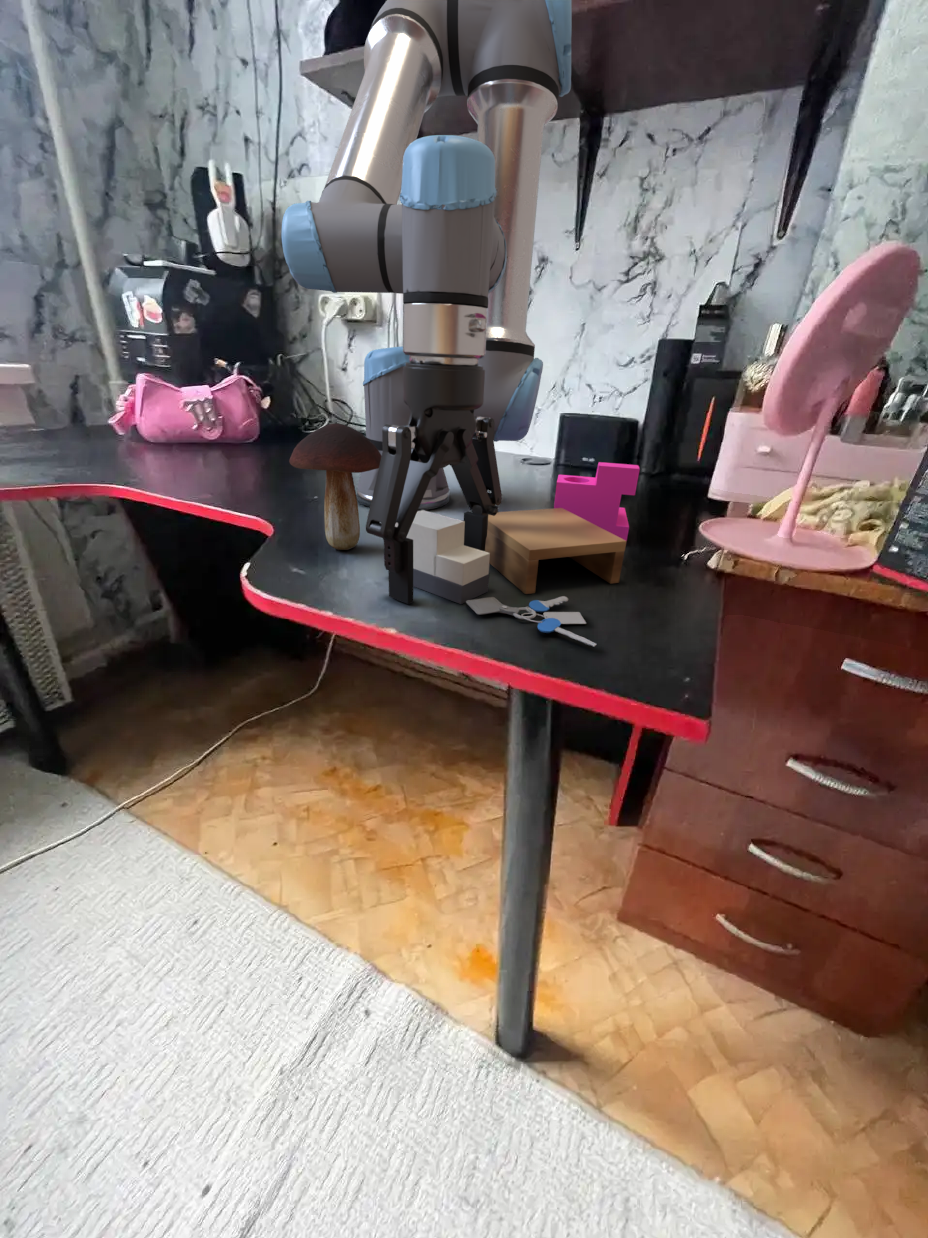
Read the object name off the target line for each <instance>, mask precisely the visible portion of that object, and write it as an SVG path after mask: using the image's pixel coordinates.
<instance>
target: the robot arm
mask: <svg viewBox="0 0 928 1238" xmlns="http://www.w3.org/2000/svg"><path fill="white" fill-rule="evenodd" d="M572 12H573V11H572V0H385V2H384V4H383V5H382V6H381V8H380V9H379V11H378V12H377V14H376V15H375V17H374V19H373V21H372V23H371V26H370V29H369V31H368V33H367V37H366V40H365V44H364V48H363V65H364V74H363V77H362V80H361V82H360V86H359V88H358V91H357V94H356V97H355V100H354V102H353V105H352V107H351V110H350V114H349V117H348V119H347V122H346V125H345V128H344V131H343V134H342V136H341V139H340V142H339V145H338V148H337V151H336V153H335V156H334V158H333V162H332V165H331V167H330V170H329V173H328V176H327V179H326V181H325V184H324V186H323V190H322V192H321V194H320V197H319V199H318V202H312V200H306V201H305V202H298V203H297V202H296V203H293V204H291V205H290V206H287V208H286V209H285V211H284V213H283V217H282V221H281V246H282V252H283V256H284V259H285V263H286V264H287V268H288V269H289V273H290V275H291V277H292V278H293V280H294V281H295V282H296V283H297V284H298V285H299V286H300V287H302V288H304V289H307V290H314V291H315V290H317V291H324V292H331V293H333V294H338V293H365V294H366V293H367V294H369V293H370V294H371V293H373V294H402V303H403V304H402V345H401V346H393V347H384V348H377V349H372V350H370V351H369V352H368V353H367V354H366V356H365V358H364V362H363V382H362V387H363V396H364V398H363V399H364V419H365V420H364V422H365V437H366V438H367V439H369V440H370V441H371V442H372V443H373V444H374V445H375V447H376V448H377V449H378V451H379V452H380V454H381V461H380V465H379V468H378V469H374V470H370V471H366V472H361V473H359V474H360V475H359V479H358V481H357V484H356V485H357V486H356V497H357V502H358V503H360V504H362V505H363V506H367V507H369V510H368V513H367V514H368V515H367V518H366V523H365V532H366V533H367V534H369V535H372V536H375V537H379V538H382V539H383V559H384V560H383V561H384V568H385V570H386V571H387V572H388V597H390V598H392V599H394V600H397V601H400V602H402V603H404V604H407V605H409V604H412V603H414V586H413V540H412V539H409V538H406V537H407V535H408V533H409V530H410V528H411V525H412V523H413V521H414V518H415V516H416V513H417V512H418V511H422V510H424V511H429V510H433V509H437V508H441V507H443V506H445V505H447V504H448V503H449V501H450V488H449V487H450V486H449V483H448V480H447V477H446V473H445V470H444V469H445V468H446V467H448V466H450V467H451V468H452V471H453V474H454V476H455V478H456V480H457V483H458V485H459V488H460V490H461V492H462V495H463V497H464V499H465V502H466V504H467V506H468V509H469V510H470V511H464V512H463V521H465V529H464V545H465V546H468V547H471V548H475V549H478V550H481V551H485V543H486V538H487V529H488V514H489V515H493V516H495V515H496V514H497V512H499V507H498V506H500V505H501V504H502V502H503V495H502V489H501V481H500V475H499V468H498V461H497V454H496V448H495V442H496V443H497V442H518V441H521V440H523V439H524V438H525V437H526V436H527V435H528V433H529V430H530V427H531V425H532V422H533V416H534V412H535V408H536V405H537V401H538V395H539V390H540V385H541V379H542V374H543V369H544V361H543V360H542V359H540V358H539V357H535V350H536V344H535V343H534V342H533V340H532V339H531V338H530V336H529V335H528V333H527V323H528V311H529V300H530V287H531V277H532V266H533V254H534V253H533V252H534V243H535V232H536V231H535V229H536V219H537V210H538V209H537V208H538V197H539V184H540V173H541V162H542V151H543V150H542V149H543V138H544V129H545V127H546V126H547V125H548V124H549V123H550V122H551V121H552V120H553V118H554V117H555V116H556V114H557V112H558V106H559V97H561V98H562V97H564V96H565V95H568V94H569V93H570V91H571V88H572V29H573V27H572V25H573V24H572V20H573V19H572ZM447 96H456V97H467V100H466V105H467V107H466V108H467V111H468V113H469V115H470V116H471V117H472V118H473V120H474V121H475V123H476V124H477V135H476V139H474V138H471V137H466V136H461V135H454V134H453V135H452V134H436V135H435V134H434V135H433V134H432V135H427V136H423V137H419V138H418V135H419V131H420V128H421V124H422V122H423V117H424V115H425V113H427V111H429V109H431V107H433V105H434V103H436V101H437V98H439V97H447ZM399 201H400V203H399ZM398 203H399V204H398ZM396 522H397V523H398V527H395V524H396Z"/></svg>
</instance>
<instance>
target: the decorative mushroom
mask: <svg viewBox="0 0 928 1238" xmlns="http://www.w3.org/2000/svg"><path fill="white" fill-rule="evenodd" d="M380 461H381V454H380V452H379V451H378V449H377V448H376V447H375V445H374V444H373V443H372V442H371V441H370V440H369V439H367V438H366V435H364V434H363V433H362V432H360V431H359V430H356V429H354V428H353V427H351V426H348V425H346V424H343V423H337V422H336V423H335V422H334V423H329V424H326V425H324V426H322V427H319V428H317V429H315V430H314V431H312V432H311V433H310V434H308V435H307V436H305V437H304V438H303V439H301V441H299V442H298V443H297V444H296V446H295V447H294V448H293V451H292V453H291V455H290V458H289V459H288V462H289V464H290V465H291V466H292V467H293V468H296V469H300V470H316V471H325V490H324V505H323V506H324V507H323V508H324V510H323V511H324V514H323V515H324V516H323V517H324V532H325V538H326V541H327V543H328V545H329V546H330V547H332V548H333V549H335V550H339V551H349V550H350V549H352V548H354V547H356V546H357V545H358V543H359V540H360V535H361V525H360V513H359V504H358V503H359V502H358V500H357V490H356V487H355V483H354V477H353V474H361V472H366V471H370V470H374V469H378V468H379V465H380Z"/></svg>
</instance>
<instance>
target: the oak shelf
mask: <svg viewBox="0 0 928 1238" xmlns="http://www.w3.org/2000/svg"><path fill="white" fill-rule="evenodd" d="M626 546H627V542H626V540H624V539H622V538H620V537H618V536H616V535H614V534H612V533H610V532H608V531H606V530H604V529H602V528H600V527H598V526H596V525H594V524H592V523H590V522H588V521H587V520H585V519H583V518H581V517H579V516H577V515H575V514H573V513H571V512H569V511H567V510H565V509H563V508H554V507H553V508H540V509H539V508H538V509H525V510H522V509H521V510H510V511H507V510H506V511H498V512H497V514H496V515H495V516H493V515H489V514H488V529H487V538H486V543H485V552H488V553H490V560H489V565H491V566H492V567H493V568H494V569H495V570H496V571H498V572H499V573H500V574H501V575H502V576H504V577H505V578H506V579H507V580H508V581H509V582H510V583H512V584H513V585H514V586H515V587H516V588H518V589H519V590H520V591H521V592H522V593H523V594H525V595H530V594H531V595H532V594H535V593H536V589H537V587H536V586H537V579H538V569H539V568H538V567H539V560H541V561H542V560H549V559H560V558H570V559H571V560H573V561H574V562H576V563H577V564H579V565H580V566H582V567H584V568H585V569H587V570H588V571H590V572H592V573H593V574H595V575H596V576H598V577H599V578H600V579H602V580H603V581H606V582H607V583H608V584H612V585H613V584H619V583H620V579H621V573H622V568H623V564H624V563H623V562H624V556H625V551H626Z"/></svg>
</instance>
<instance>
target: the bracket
mask: <svg viewBox="0 0 928 1238" xmlns="http://www.w3.org/2000/svg"><path fill="white" fill-rule="evenodd" d="M640 470H641V469H640V466H639V464H630V463H629V464H627V463H616V462H602V461H598V464H597V468H596V473H595V477H592V476H584V475H583V476H581V475H570V474H558V476H557V480H556V485H555V493H554V494H555V495H554V503H553V508H563V509H565V510H567V511H569V512H571V513H573V514H575V515H577V516H579V517H581V518H583V519H585V520H587V521H588V522H590V523H592V524H594V525H596V526H598V527H600V528H602V529H604V530H606V531H608V532H610V533H612V534H614V535H616V536H618V537H620V538H622V539H624V540H626V543H627V541H628V535H629V530H630V524H629V521H628V520H629V519H628V517H627V516H628V515H627V512H626V507H620V506H621V500H622V495H625V496H636V491H637V486H638V481H639V477H640V476H639V475H640Z"/></svg>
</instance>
